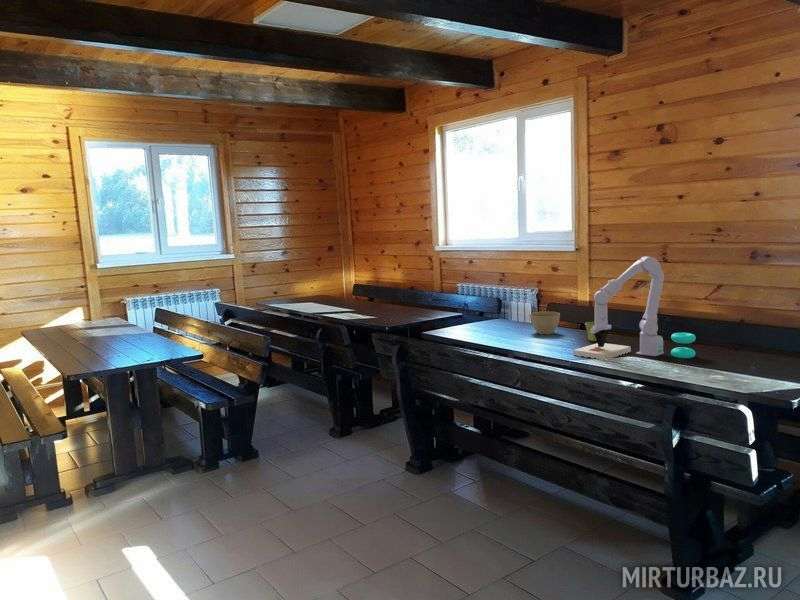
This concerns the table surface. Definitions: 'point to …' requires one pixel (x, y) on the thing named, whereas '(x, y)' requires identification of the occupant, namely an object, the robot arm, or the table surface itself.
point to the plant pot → (590, 335)
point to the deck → (606, 352)
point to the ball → (597, 349)
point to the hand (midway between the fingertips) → (601, 346)
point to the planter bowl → (545, 322)
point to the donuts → (682, 351)
